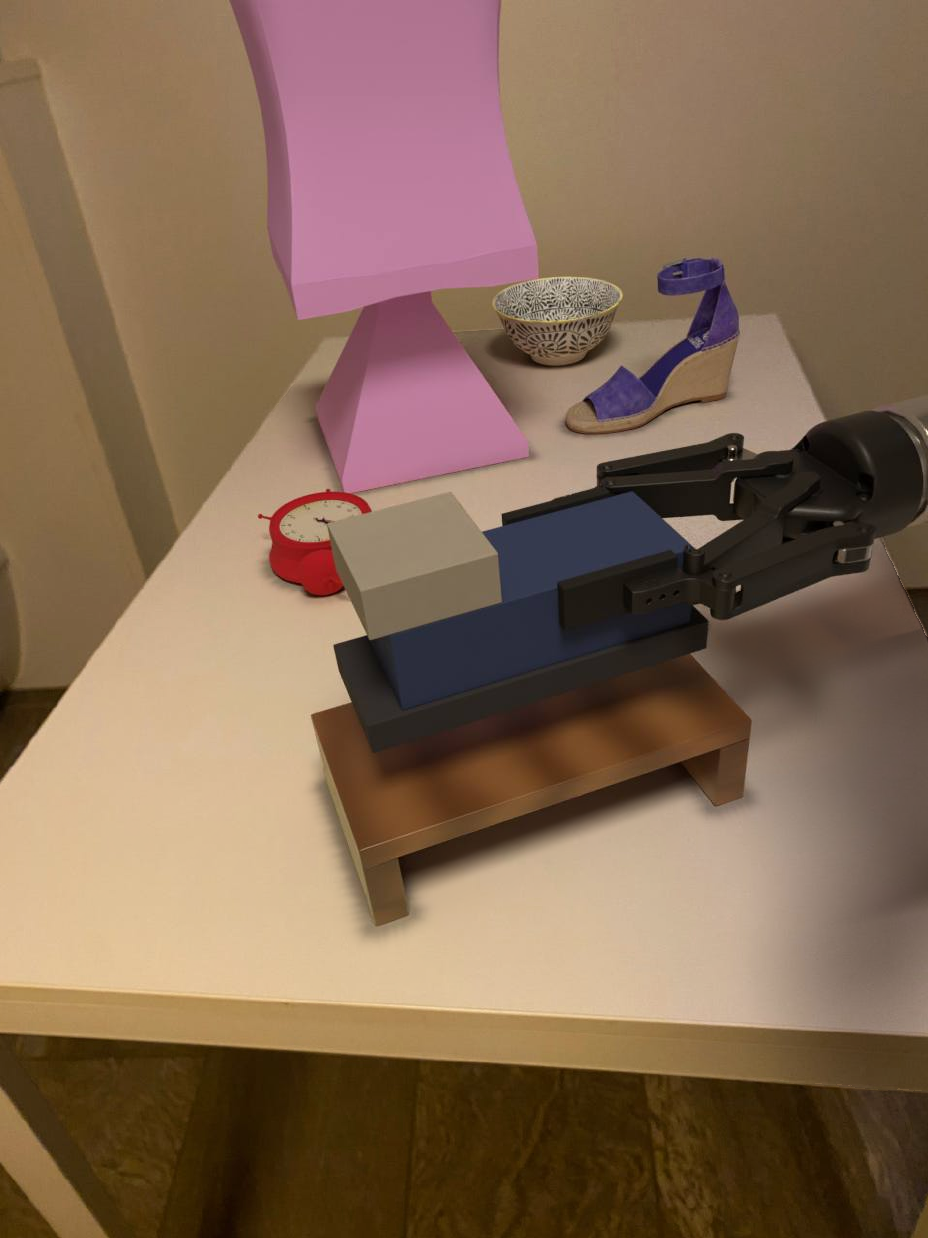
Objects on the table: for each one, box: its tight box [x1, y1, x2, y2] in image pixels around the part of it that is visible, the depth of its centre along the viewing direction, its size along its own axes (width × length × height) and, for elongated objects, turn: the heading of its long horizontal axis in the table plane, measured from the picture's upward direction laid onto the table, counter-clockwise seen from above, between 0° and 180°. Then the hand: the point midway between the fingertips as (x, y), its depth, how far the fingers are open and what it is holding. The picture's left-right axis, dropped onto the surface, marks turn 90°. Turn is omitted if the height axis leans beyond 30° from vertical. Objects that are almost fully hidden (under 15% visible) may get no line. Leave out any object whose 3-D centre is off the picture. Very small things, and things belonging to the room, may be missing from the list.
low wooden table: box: [310, 653, 753, 927], centre depth 60 cm, size 24×12×6 cm, turn 110°
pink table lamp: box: [229, 0, 540, 494], centre depth 93 cm, size 22×22×45 cm
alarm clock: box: [257, 488, 373, 596], centre depth 85 cm, size 10×6×15 cm
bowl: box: [491, 276, 624, 367], centre depth 120 cm, size 16×16×8 cm
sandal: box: [565, 257, 741, 435], centre depth 102 cm, size 8×20×15 cm, turn 100°
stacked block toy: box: [327, 491, 710, 753], centre depth 53 cm, size 20×8×10 cm, turn 110°
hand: (532, 569), depth 52 cm, fingers closed on stacked block toy, 7 cm apart
